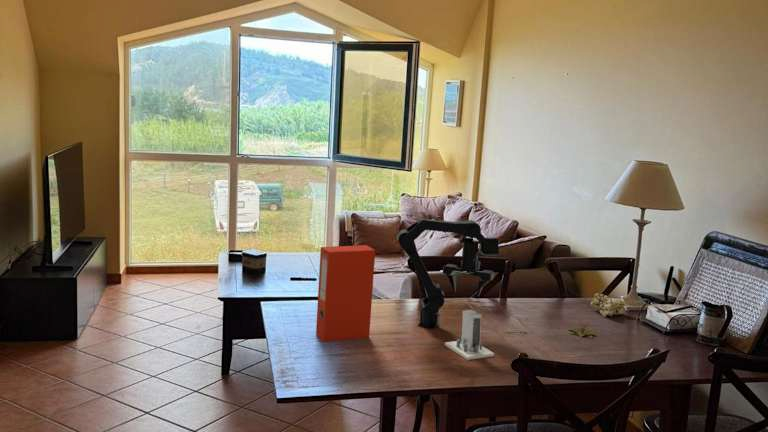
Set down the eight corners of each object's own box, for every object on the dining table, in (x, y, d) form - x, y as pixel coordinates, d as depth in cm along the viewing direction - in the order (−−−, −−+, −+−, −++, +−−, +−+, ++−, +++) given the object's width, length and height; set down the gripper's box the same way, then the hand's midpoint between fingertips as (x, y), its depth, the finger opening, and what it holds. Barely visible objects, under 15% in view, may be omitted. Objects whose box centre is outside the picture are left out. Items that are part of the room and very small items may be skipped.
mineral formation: (606, 319, 277) (580, 306, 290) (628, 321, 284) (602, 308, 297) (612, 301, 276) (586, 288, 289) (633, 303, 283) (607, 291, 295)
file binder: (369, 337, 237) (375, 250, 232) (324, 342, 229) (329, 252, 224) (360, 330, 244) (365, 244, 239) (315, 334, 236) (320, 246, 231)
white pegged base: (444, 345, 235) (445, 335, 234) (470, 341, 240) (471, 332, 239) (467, 359, 223) (468, 349, 222) (493, 356, 228) (494, 346, 227)
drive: (461, 346, 232) (462, 310, 231) (469, 344, 234) (471, 310, 233) (471, 350, 227) (472, 314, 226) (479, 349, 229) (481, 314, 227)
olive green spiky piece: (563, 335, 255) (564, 323, 255) (569, 326, 266) (571, 315, 265) (595, 342, 250) (597, 330, 249) (600, 333, 261) (602, 322, 260)
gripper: (499, 254, 254) (495, 293, 257) (452, 246, 262) (449, 285, 264) (491, 259, 244) (488, 300, 247) (443, 252, 251) (440, 291, 254)
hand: (466, 294), depth 253 cm, fingers open, 9 cm apart
